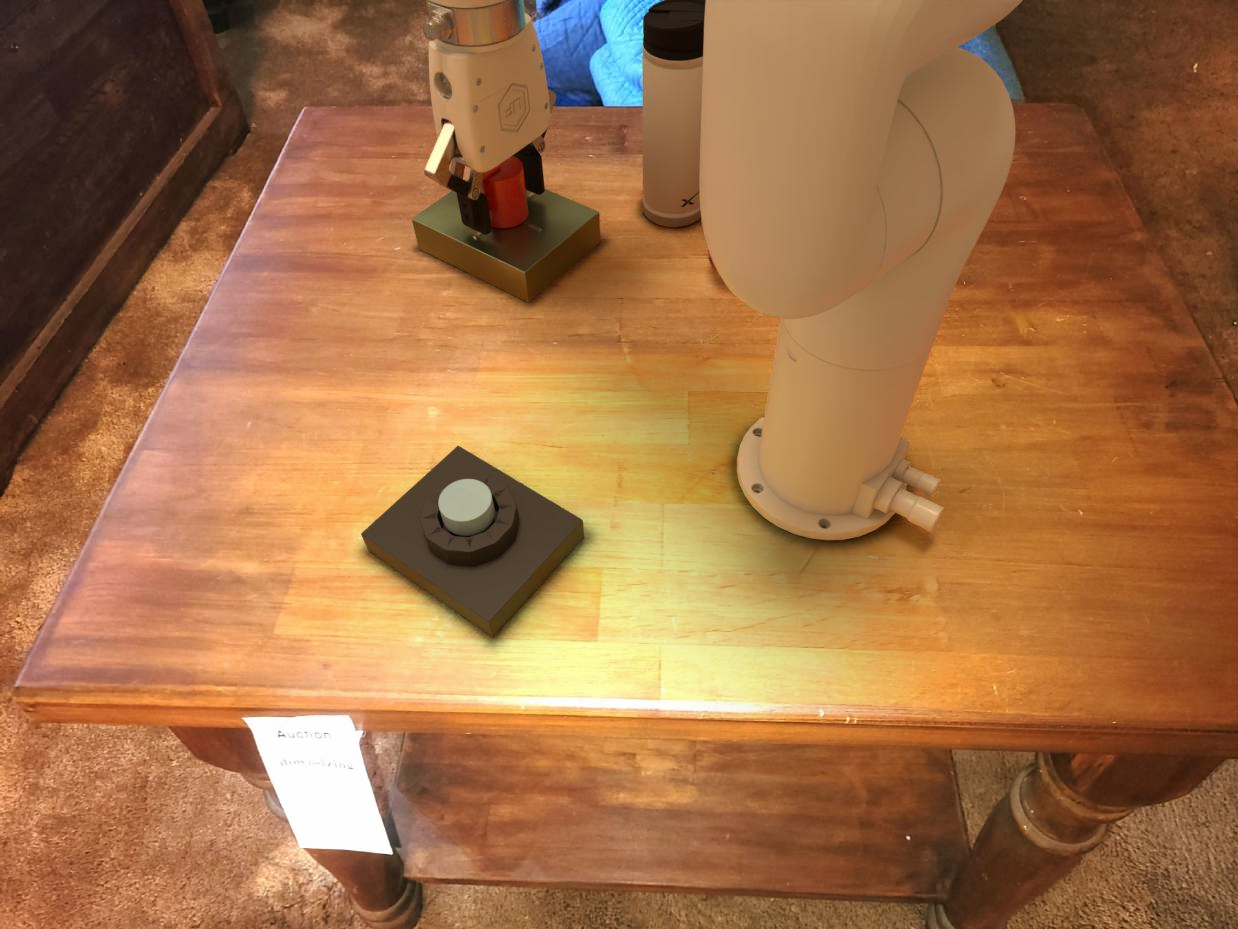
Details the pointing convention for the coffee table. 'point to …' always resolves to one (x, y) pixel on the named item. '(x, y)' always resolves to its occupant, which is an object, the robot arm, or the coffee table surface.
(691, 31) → the travel mug
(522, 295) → the panel
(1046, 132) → the coffee table surface
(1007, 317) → the coffee table surface
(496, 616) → the button box
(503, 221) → the tap knob
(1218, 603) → the coffee table surface
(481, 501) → the button
